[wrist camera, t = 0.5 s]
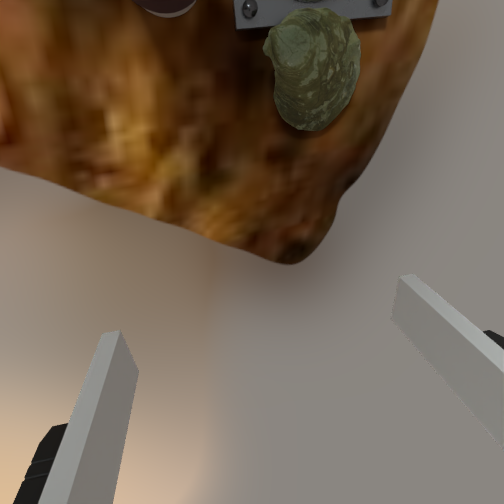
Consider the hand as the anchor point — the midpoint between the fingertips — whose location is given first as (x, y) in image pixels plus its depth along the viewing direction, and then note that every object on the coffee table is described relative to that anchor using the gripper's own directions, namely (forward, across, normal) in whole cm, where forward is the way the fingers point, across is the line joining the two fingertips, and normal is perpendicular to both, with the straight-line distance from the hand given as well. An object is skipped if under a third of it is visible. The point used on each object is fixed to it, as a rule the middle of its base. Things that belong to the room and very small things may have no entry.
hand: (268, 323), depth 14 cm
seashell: (+26, +11, +10) cm, 29 cm away
